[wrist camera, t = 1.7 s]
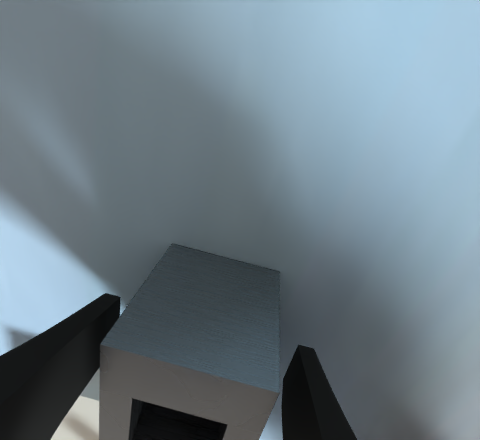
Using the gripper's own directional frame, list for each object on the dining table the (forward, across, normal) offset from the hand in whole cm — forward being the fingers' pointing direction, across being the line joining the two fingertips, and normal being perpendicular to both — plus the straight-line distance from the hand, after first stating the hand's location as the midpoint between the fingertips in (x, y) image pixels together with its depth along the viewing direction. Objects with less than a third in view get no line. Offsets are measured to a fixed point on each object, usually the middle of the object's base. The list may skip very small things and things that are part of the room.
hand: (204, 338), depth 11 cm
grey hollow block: (+1, 0, 0) cm, 1 cm away
